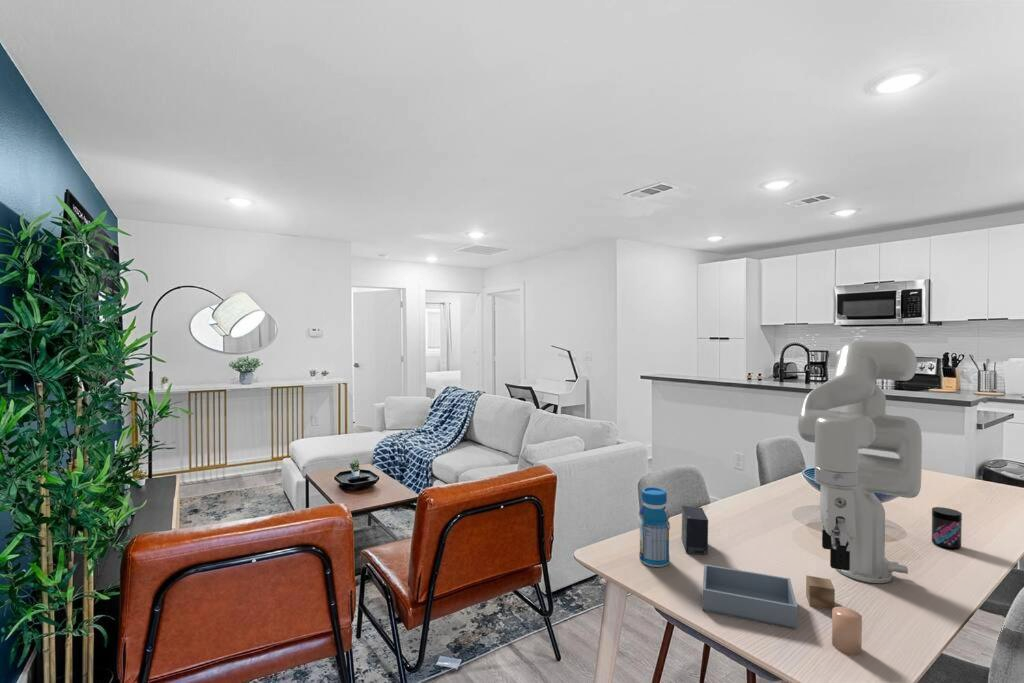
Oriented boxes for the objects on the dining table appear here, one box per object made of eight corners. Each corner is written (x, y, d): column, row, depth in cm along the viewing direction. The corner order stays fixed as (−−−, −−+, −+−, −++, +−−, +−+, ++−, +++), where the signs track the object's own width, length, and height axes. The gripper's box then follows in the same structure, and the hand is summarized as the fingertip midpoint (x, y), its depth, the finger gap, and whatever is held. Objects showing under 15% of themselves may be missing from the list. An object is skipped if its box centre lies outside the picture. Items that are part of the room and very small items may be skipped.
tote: (789, 598, 119) (789, 578, 119) (797, 629, 107) (797, 607, 107) (704, 583, 127) (704, 564, 126) (702, 610, 114) (702, 589, 114)
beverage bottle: (652, 570, 133) (652, 497, 133) (632, 557, 141) (632, 488, 141) (676, 564, 137) (676, 492, 137) (655, 552, 145) (655, 484, 144)
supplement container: (925, 542, 149) (926, 508, 149) (941, 539, 151) (941, 505, 151) (951, 552, 143) (952, 516, 142) (967, 548, 145) (967, 513, 144)
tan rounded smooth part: (858, 643, 102) (858, 609, 102) (864, 657, 98) (864, 623, 97) (829, 637, 104) (830, 604, 104) (834, 651, 100) (835, 617, 99)
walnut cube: (830, 599, 119) (830, 579, 119) (834, 610, 114) (834, 589, 114) (806, 595, 121) (806, 575, 120) (809, 606, 116) (809, 585, 116)
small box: (709, 555, 142) (709, 519, 142) (685, 553, 143) (685, 518, 143) (702, 540, 153) (702, 506, 152) (680, 538, 154) (680, 505, 154)
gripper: (868, 491, 93) (867, 581, 93) (848, 468, 109) (847, 545, 109) (821, 486, 96) (820, 573, 96) (809, 464, 112) (808, 539, 112)
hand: (835, 558), depth 103 cm, fingers open, 9 cm apart
